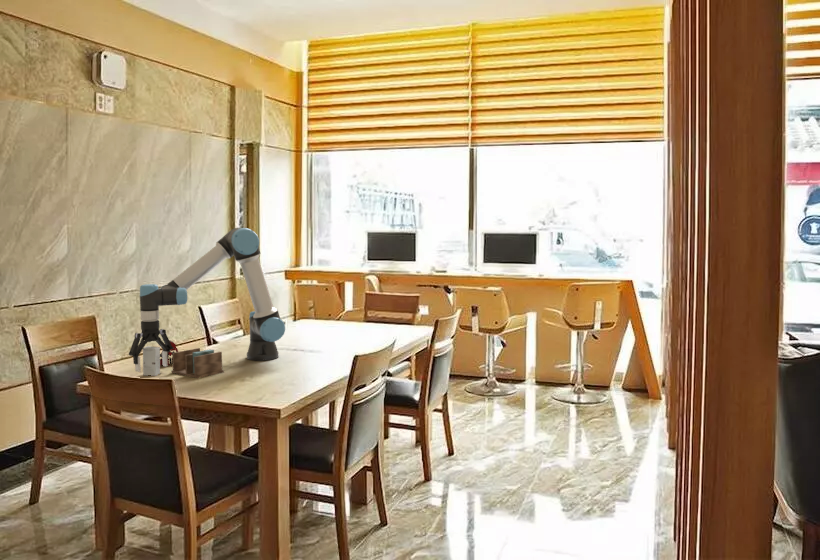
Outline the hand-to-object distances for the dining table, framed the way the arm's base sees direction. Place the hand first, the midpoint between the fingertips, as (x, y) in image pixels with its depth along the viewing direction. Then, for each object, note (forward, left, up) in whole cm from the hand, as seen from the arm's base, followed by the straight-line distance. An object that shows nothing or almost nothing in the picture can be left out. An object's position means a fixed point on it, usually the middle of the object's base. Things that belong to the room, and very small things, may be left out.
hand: (151, 368), depth 309 cm
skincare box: (0, 0, -3) cm, 3 cm away
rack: (-14, +13, -3) cm, 19 cm away
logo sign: (-18, -12, -3) cm, 22 cm away
